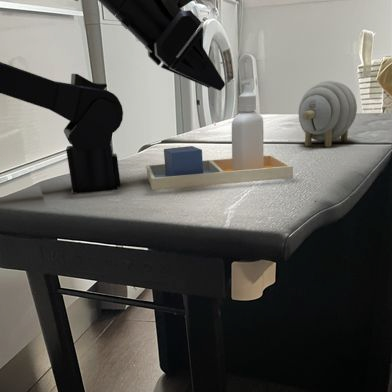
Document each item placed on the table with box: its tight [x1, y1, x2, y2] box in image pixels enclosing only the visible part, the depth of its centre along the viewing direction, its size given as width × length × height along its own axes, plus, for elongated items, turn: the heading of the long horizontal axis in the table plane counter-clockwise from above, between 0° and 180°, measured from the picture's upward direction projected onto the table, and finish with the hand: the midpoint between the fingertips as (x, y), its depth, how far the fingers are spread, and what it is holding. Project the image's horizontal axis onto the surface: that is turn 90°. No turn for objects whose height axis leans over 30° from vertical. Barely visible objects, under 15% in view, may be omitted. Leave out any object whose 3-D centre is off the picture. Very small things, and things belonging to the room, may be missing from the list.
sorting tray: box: [145, 154, 294, 191], centre depth 81 cm, size 20×11×2 cm, turn 99°
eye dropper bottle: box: [231, 84, 264, 171], centre depth 79 cm, size 4×6×12 cm
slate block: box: [163, 145, 204, 177], centre depth 79 cm, size 4×4×4 cm
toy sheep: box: [298, 80, 358, 148], centre depth 104 cm, size 11×17×11 cm, turn 148°
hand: (216, 86), depth 76 cm, fingers open, 9 cm apart
